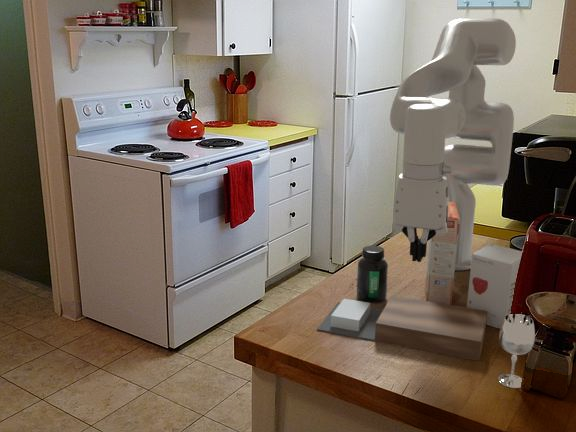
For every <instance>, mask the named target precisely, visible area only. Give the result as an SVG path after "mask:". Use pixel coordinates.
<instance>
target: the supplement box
mask: <svg viewBox="0 0 576 432" xmlns="http://www.w3.org/2000/svg"><path fill="white" fill-rule="evenodd" d="M522 252H523V251H522V250H518V249H514V248H510V247H506V246H501V245H497V244H494V243H489V244H487V245H485V246H483V247H482V248H480V249H478V250H476V251H474V252H471V256H472V260H471V269H469V270H470V272H469V282H468V290H467V291H468V292H467V301H466V308H472V309H478V310H484V311H488V314H487V323H486V326H490V327H493V328H495V329H499V330H500V328H501V325H502V322H503V320H504V318H505V316H506V315H508V314H510V313H511V306H512V301H513V295H514V288H515V282H516V278H517V273H518V268H519V263H520V259H521V255H522Z"/></svg>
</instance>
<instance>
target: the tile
mask: <svg viewBox="0 0 576 432" xmlns="http://www.w3.org/2000/svg"><path fill="white" fill-rule="evenodd" d="M370 308H371V303H367V302H363V301H361V300H355V299H348V298H343V299H342V300H341V302H340V304H339V306H338V307H337V308H336V310H335V311H334V312H333V314H332V315H331V327H337V328H342V329H348V330H353V331H358V332H359V330H360V329H361V327H362V326H363V324H364V322H365V321H366V319H367V318H368V316H369V314H370Z"/></svg>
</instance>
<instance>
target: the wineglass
mask: <svg viewBox="0 0 576 432" xmlns="http://www.w3.org/2000/svg"><path fill="white" fill-rule="evenodd" d="M498 340H499V344H500V346H501V348H502V349H503V350H504V351H505V352H507V353H509V354H511V357H510V360H511V369H510V370H511V372H510V373H502V374H501V375H500V374H499V376H498V378H497V381H498V382H499V384H501V385H502V386H504V387H507V388H512V389H521V388H522V387H521V382H522V379H523V378H522V377H521V376H519V375H516V374H515V367H516V363H517V362H518V356H522V355H526V354H528V353H530V352H531V350H532V349H533V348H534V345H535V343H536V341H535V340H536V329H535V324H534V320H533V318H531V317H530V316H528V315H525V314H522V313H521V314H508V315H506V316H505V318H504V320H503V322H502V325H501V328H500V329H499V333H498ZM532 347H533V348H532Z"/></svg>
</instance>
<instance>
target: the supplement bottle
mask: <svg viewBox="0 0 576 432" xmlns="http://www.w3.org/2000/svg"><path fill="white" fill-rule="evenodd" d="M361 256H362V257H361V258H360V259H359V260H358V262H357V271H356V272H357V276H356V297H357V299H358V301H361V302H367V303H370V304H379V303H382V302H384V301H385V300H386V299H387V291H388V274H389V272H388V271H389V269H388V268H389V264H388V262H387V260H386V259H385V249H384V248H383V247H382V246H378V245H366V246H363V248H362V253H361Z"/></svg>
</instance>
